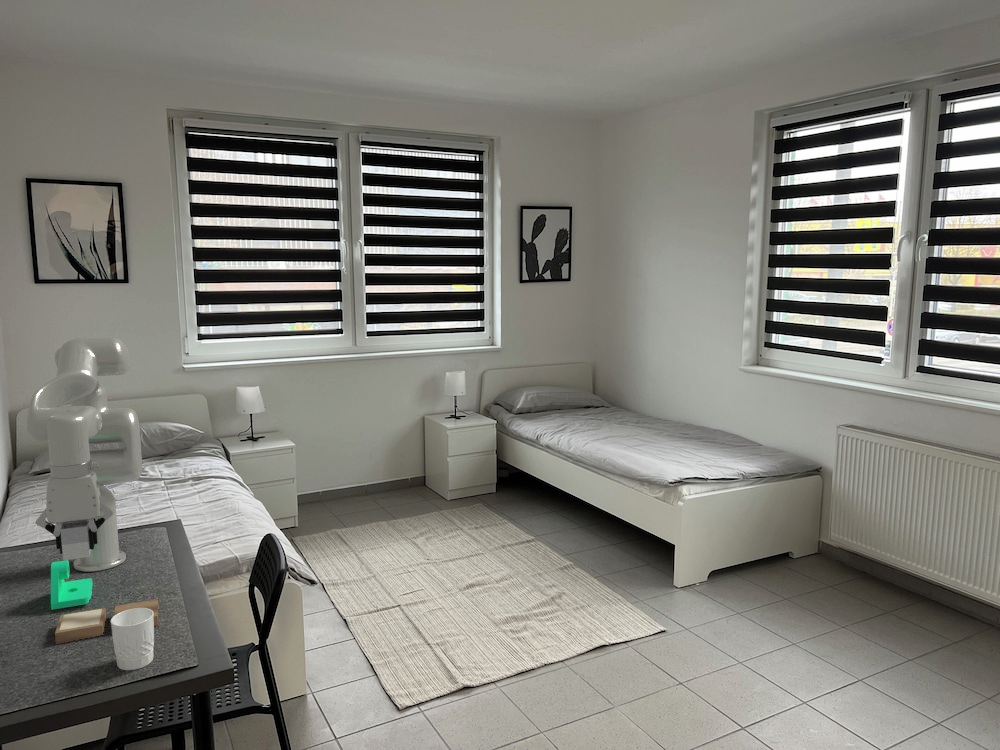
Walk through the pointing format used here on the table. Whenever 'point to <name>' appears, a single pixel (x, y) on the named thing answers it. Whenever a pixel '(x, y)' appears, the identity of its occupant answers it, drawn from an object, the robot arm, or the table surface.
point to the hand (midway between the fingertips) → (77, 548)
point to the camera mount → (68, 587)
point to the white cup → (133, 638)
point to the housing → (75, 540)
